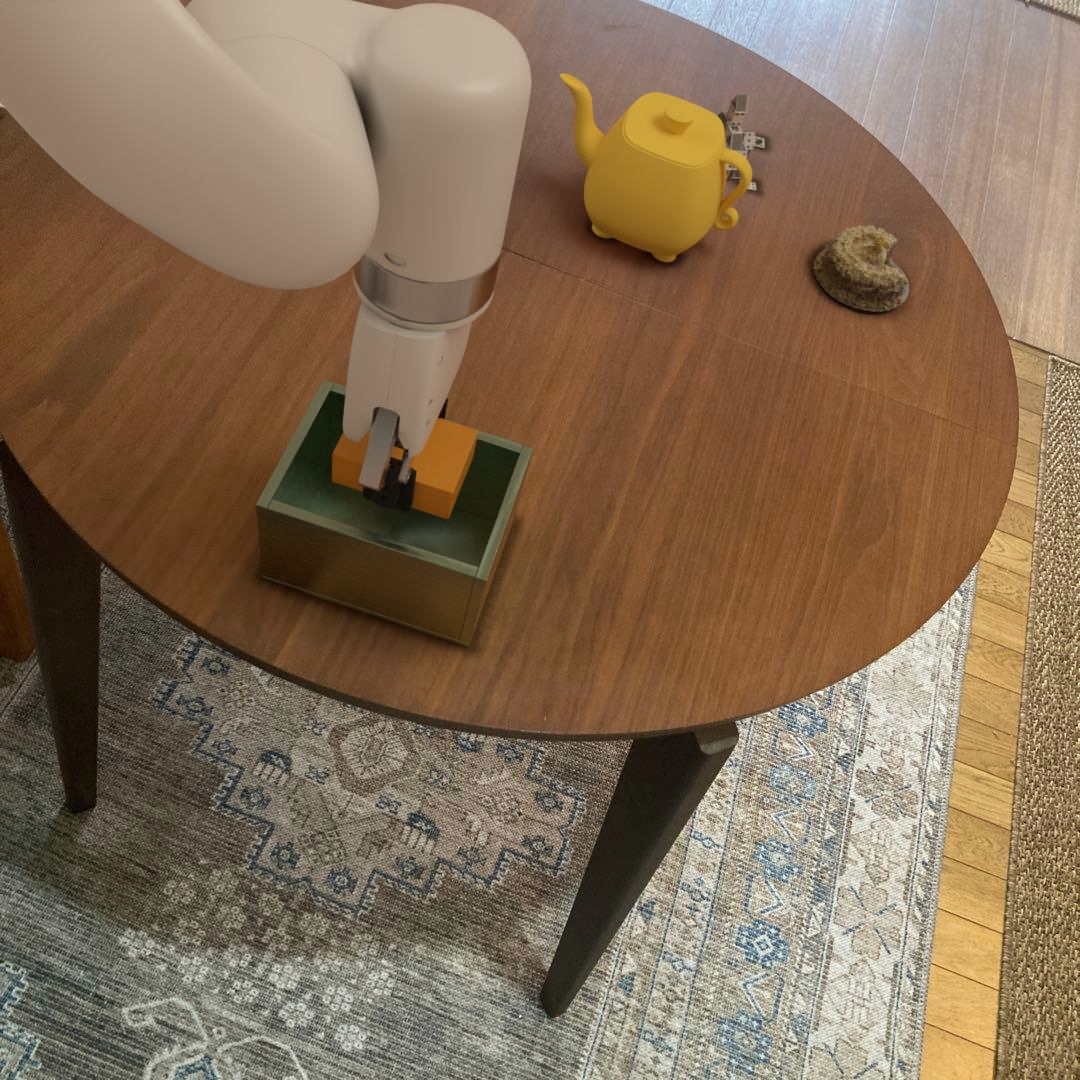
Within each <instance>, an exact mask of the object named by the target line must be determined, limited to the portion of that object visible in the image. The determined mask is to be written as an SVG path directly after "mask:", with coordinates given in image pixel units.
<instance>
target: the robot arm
mask: <svg viewBox="0 0 1080 1080" xmlns="http://www.w3.org/2000/svg"><path fill="white" fill-rule="evenodd" d="M532 83H533V82H532V71H531V65H530V61H529V59H528V55H527V53H526V52H525V50H524V47H523V46H522V44H521V43H520V42H519V40H518V38H517V37H516V36H515V35H514V34H513V33H511V31H510V30H509V29H507V28H506V27H505V26H504V25H502V24H501V23H499V21H497V20H496V19H494V18H492V17H490V16H489V15H487V14H485V13H482V12H480V11H477V10H475V9H472V8H468V7H465V6H462V5H456V4H452V3H451V4H449V3H440V2H432V3H431V2H426V3H418V4H417V3H416V4H413V5H408V6H405V7H401V8H390V7H385V6H379V5H375V4H369V3H365V2H360V1H356V0H190V2H189V3H188V4H187V5H186V6H184V5H183V3H182V2H181V1H180V0H0V104H1V106H2V107H3V108H4V109H5V110H6V111H7V112H8V113H9V114H10V115H11V117H12V118H13V119H14V120H15V121H16V122H17V124H18V125H20V127H21V128H22V129H23V130H24V131H25V132H26V134H28V135H29V136H30V137H31V138H32V139H33V140H34V141H35V143H37V144H38V145H39V147H40V148H41V149H43V150H44V152H45V153H47V154H48V156H49V157H50V158H52V159H53V161H55V162H56V163H57V164H58V165H59V166H60V167H61V168H62V169H63V170H65V171H66V172H67V174H69V176H71V177H72V178H74V179H75V180H76V181H77V182H78V183H80V184H81V185H82V186H83V187H84V188H86V189H87V190H88V191H89V192H91V194H92V195H95V197H97V198H99V199H100V200H101V201H103V202H104V203H106V204H107V205H108V206H110V207H111V208H112V209H113V210H115V211H117V212H118V213H119V214H121V215H123V216H124V217H126V218H128V219H129V220H130V221H132V222H133V223H135V224H137V226H138V225H139V226H140V227H142V228H143V229H145V230H146V231H148V232H150V233H152V235H155V236H156V237H158V238H159V239H161V240H163V241H164V242H165V243H168V244H169V245H170V246H172V247H174V248H175V249H176V250H179V251H180V252H181V253H184V254H186V255H187V256H188V257H191V258H192V259H194V260H196V261H197V262H199V263H201V264H203V265H205V266H207V267H208V268H210V269H212V270H214V271H217V272H219V273H221V274H223V275H226V276H227V277H230V278H233V279H235V280H236V281H237V280H238V281H240V282H242V283H246V284H250V285H253V286H258V287H260V288H267V289H273V290H279V291H281V290H284V291H285V290H289V291H290V290H295V291H296V290H306V289H311V288H316V287H317V288H318V287H320V286H323V285H325V284H328V283H331V282H334V281H335V280H336V279H338V278H340V277H342V276H343V275H344V274H346V273H348V272H349V271H350V270H351V269H352V282H353V286H354V288H355V292H356V293H357V295H358V297H359V298H360V300H361V302H360V306H359V309H358V313H357V317H356V321H355V326H354V329H353V335H352V340H351V346H350V353H349V358H348V368H347V375H346V384H345V386H346V394H345V404H344V415H343V431H344V434H345V436H346V437H347V438H348V439H351V440H354V441H356V442H360V441H361V440H362V438H363V437H364V436H365V435H366V434H367V433H368V431H369V430H370V433H369V439H368V444H367V450H366V455H365V459H364V463H363V466H362V470H361V473H360V477H359V481H358V485H361V486H363V496H364V497H365V498H366V499H368V500H371V501H373V502H374V503H375V504H377V505H379V506H382V507H385V508H389V509H392V508H395V509H398V510H401V511H405V512H409V511H410V509H411V506H412V504H413V497H414V489H415V482H416V474H417V471H416V470H414V469H413V468H412V466H413V462H414V457H415V456H417V455H419V454H420V453H421V452H422V450H423V448H424V446H425V444H426V442H427V440H428V438H429V436H430V434H431V431H432V429H433V427H434V425H435V422H436V420H437V418H442V419H446V417H447V416H446V415H447V409H448V403H449V398H448V396H449V394H450V391H451V388H452V386H453V383H454V381H455V380H456V376H457V374H458V371H459V369H460V366H461V363H462V361H463V358H464V355H465V352H466V349H467V346H468V345H467V344H468V341H469V337H470V332H471V328H472V327H471V326H472V323H473V322H474V321H476V320H477V319H478V318H479V317H481V316H482V315H483V314H484V313H485V312H486V311H487V309H488V308H489V306H490V304H491V303H492V301H493V298H494V293H495V287H496V282H497V277H498V271H499V265H500V261H501V256H502V250H503V244H504V240H505V234H506V229H507V224H508V219H509V212H510V207H511V203H512V197H513V191H514V187H515V182H516V176H517V171H518V165H519V161H520V155H521V150H522V145H523V138H524V133H525V128H526V122H527V117H528V113H529V107H530V100H531V93H532ZM394 446H395V447H398V448H401V449H404V452H403V457H402V460H399V459H396V458H393V457H391V454H392V450H393V447H394Z"/></svg>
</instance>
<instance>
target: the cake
mask: <svg viewBox="0 0 1080 1080" xmlns="http://www.w3.org/2000/svg"><path fill="white" fill-rule="evenodd" d="M898 242H899V241H898V238H896V237H895V236H894V235H893V234H892V233H888V232H886V231H885V228H881V227H877V228H876V226H875V225H873V224H872V225H871V224H870V225H869V224H867V225H866V226H865V225H861V224H857V225H856V226H850V227H847V228H845V229H843V230H841V231H840V232H838V233H837V234H835V235H834V237H832V238H830V239H829V240H828V241H827V244H825V248H823V250H821V251H820V252H819V253H818V254H817V255H816V257H815V258H814V261H813V266H812V268H813V275H814V277H815V279H816V281H818V283H819V286H820V287H821V288H822V289H823V290H824V292H825V293H827V294H828V295H829V296H831V298H833V299H835V300H836V301H838V302H839V303H843V304H845V305H846V306H849V307H852V308H853V309H856V310H860V311H865V312H871V313H875V312H879V313H883V312H889V311H891V310H895V309H897V308H898V307H900V306H902V304H903V303H905V302H906V301H907V298H909V294H910V287H911V286H910V283H909V279H908V278H907V277H906V273H904V272H903V270H902V268H901V267H899V265H898V264H897V263H895V262H894V261H893V259H892V256H893V255H894V254H895V251H894V250H895V248H896V246H897V245H898Z"/></svg>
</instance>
